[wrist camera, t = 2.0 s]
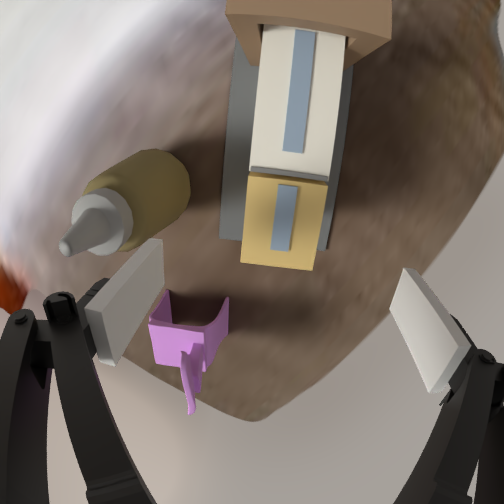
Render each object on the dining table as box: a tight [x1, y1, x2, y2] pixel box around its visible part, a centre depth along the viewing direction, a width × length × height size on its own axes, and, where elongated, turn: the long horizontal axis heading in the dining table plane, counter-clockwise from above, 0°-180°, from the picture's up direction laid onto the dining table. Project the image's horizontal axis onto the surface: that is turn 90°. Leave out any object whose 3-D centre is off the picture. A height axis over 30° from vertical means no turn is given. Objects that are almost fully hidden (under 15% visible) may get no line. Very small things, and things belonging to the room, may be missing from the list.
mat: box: [219, 37, 354, 251], centre depth 28 cm, size 24×12×1 cm, turn 175°
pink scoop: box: [148, 290, 229, 415], centre depth 32 cm, size 8×9×15 cm
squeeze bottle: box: [59, 149, 191, 257], centre depth 23 cm, size 8×8×18 cm
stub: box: [240, 172, 328, 271], centre depth 24 cm, size 6×5×12 cm
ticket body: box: [225, 0, 392, 181], centre depth 19 cm, size 12×8×16 cm
